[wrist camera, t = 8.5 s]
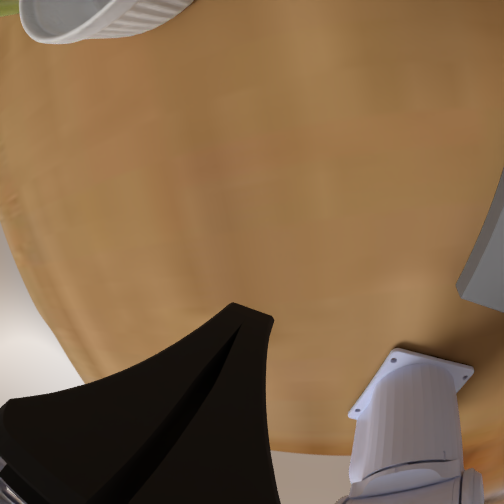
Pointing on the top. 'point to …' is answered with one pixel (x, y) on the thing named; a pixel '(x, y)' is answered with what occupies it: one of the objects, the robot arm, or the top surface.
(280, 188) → the top surface
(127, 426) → the robot arm
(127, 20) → the ramekin
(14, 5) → the plant pot
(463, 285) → the housing
